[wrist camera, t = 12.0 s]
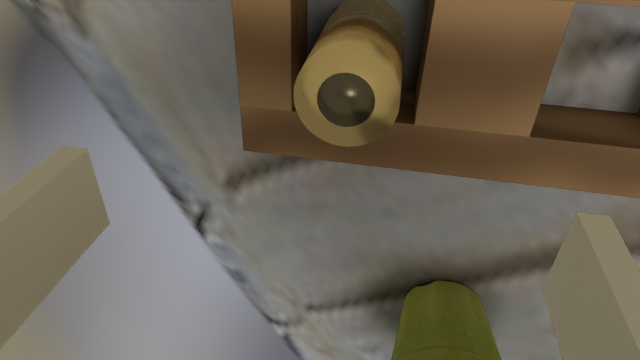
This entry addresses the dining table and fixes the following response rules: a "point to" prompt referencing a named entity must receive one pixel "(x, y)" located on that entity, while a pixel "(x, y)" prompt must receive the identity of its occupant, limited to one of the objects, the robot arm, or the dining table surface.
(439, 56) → the frame
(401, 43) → the brass bushing
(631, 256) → the robot arm
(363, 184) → the dining table surface
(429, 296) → the plant pot
